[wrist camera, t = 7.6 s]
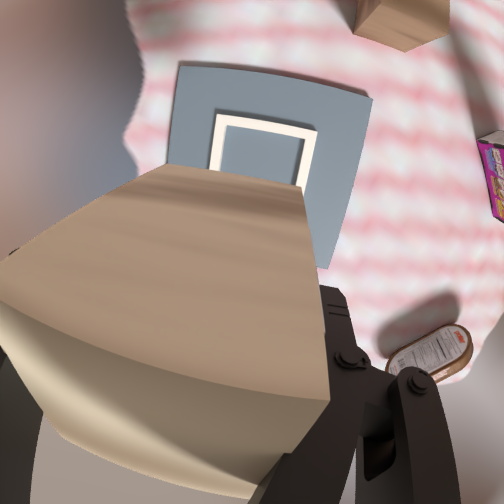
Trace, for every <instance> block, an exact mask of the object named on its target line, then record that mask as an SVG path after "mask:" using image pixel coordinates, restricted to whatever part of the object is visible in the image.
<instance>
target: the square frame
mask: <svg viewBox="0 0 504 504" xmlns="http://www.w3.org/2000/svg"><path fill="white" fill-rule="evenodd" d="M227 125H230V126H237V127H244V128H250V129H256V130H262V131H268V132H273V133H278V134H284V135H289V136H293V137H298V138H303V139H305V142H304V147H303V151H302V156H301V161H300V166H299V170H298V175H297V180H296V184H295V186H300V187H301V188H302V193H303V196H304V192H305V187H306V183H307V179H308V174H309V170H310V165H311V161H312V156H313V151H314V147H315V142H316V137H317V131H313V130H309V129H304V128H299V127H295V126H290V125H285V124H280V123H274V122H269V121H263V120H257V119H251V118H244V117H237V116H230V115H222V114H217V117H216V124H215V131H214V138H213V145H212V152H211V160H210V167H209V170H215V171H220V168H221V161H222V154H223V147H224V140H225V134H226V127H227Z"/></svg>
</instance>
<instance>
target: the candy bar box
mask: <svg viewBox="0 0 504 504" xmlns="http://www.w3.org/2000/svg"><path fill="white" fill-rule="evenodd" d="M477 144H478V148H479V152H480V155H481V159H482V163H483V167H484V171H485V175H486V179H487V184H488V189H489V194H490V200H491V206H492V212H493V217H495V218H496V219H498V220H499V221H501V222H502V223H504V131H500V130H498V131H495V132H493V133H491V134H489V135H487V136H484V137H482V138H480V139H477Z"/></svg>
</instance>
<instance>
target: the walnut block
mask: <svg viewBox="0 0 504 504" xmlns="http://www.w3.org/2000/svg"><path fill="white" fill-rule="evenodd" d="M449 12H450V0H358V3H357V10H356V18H355V25H354V31H353V34H354V35H357V36H361V37H364V38H367V39H370V40H373V41H376V42H379V43H381V44H384V45H387V46H390V47H392V48H395V49H397V50H400V51H402V52H407V51H409V50H411V49H414V48H416V47H418V46H420V45H423V44H425V43H428V42H430V41H432V40H435V39H437V38H440V37H442V36H445V35H448V34H449Z"/></svg>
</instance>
